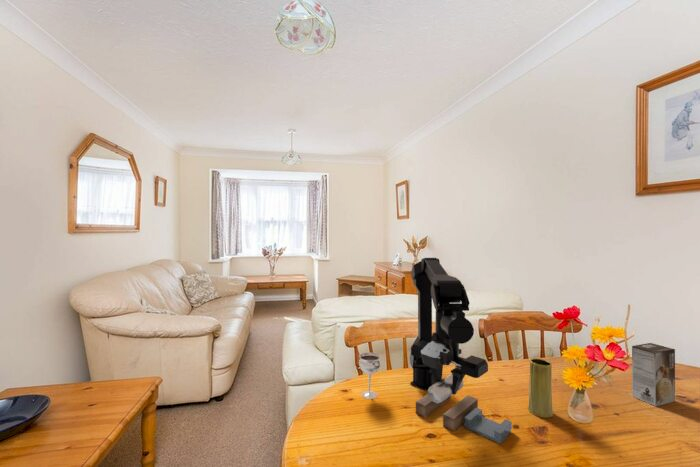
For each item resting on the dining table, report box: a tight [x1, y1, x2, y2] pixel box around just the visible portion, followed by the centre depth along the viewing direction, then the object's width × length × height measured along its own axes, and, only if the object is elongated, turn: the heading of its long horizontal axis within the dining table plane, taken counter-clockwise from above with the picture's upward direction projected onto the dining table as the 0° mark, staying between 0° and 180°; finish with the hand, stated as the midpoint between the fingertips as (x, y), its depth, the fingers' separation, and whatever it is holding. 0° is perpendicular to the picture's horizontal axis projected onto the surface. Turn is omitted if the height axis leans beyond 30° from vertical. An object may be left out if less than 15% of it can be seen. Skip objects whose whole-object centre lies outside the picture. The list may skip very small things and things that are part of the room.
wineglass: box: [358, 352, 381, 400], centre depth 100 cm, size 7×7×12 cm
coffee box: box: [631, 342, 676, 407], centre depth 98 cm, size 9×6×16 cm
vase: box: [527, 358, 554, 419], centre depth 90 cm, size 6×6×14 cm
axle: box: [427, 373, 464, 403], centre depth 80 cm, size 10×4×4 cm, turn 133°
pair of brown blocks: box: [415, 393, 479, 432], centre depth 90 cm, size 12×14×3 cm
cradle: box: [463, 407, 513, 445], centre depth 82 cm, size 9×7×3 cm
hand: (446, 390), depth 81 cm, fingers closed on axle, 4 cm apart
